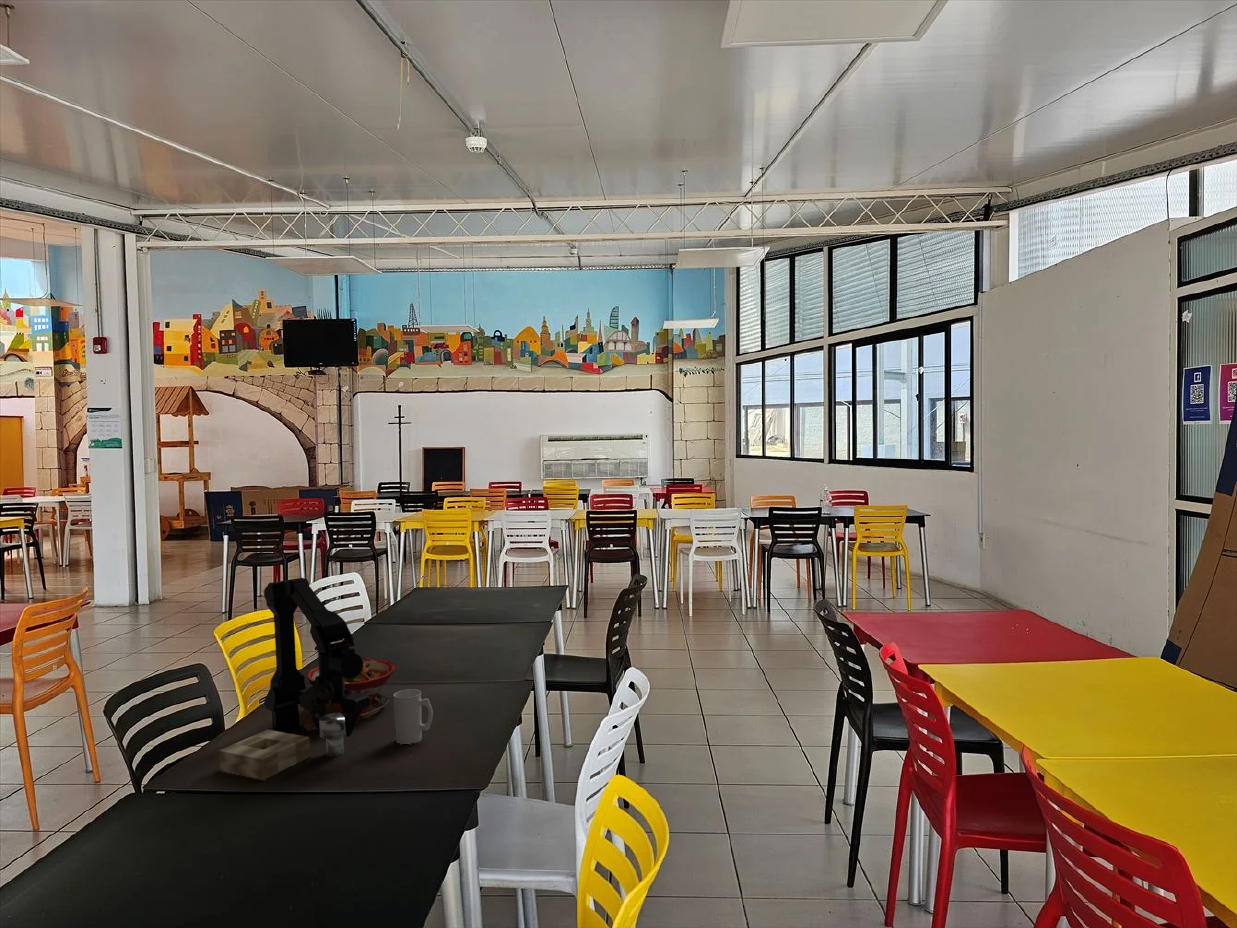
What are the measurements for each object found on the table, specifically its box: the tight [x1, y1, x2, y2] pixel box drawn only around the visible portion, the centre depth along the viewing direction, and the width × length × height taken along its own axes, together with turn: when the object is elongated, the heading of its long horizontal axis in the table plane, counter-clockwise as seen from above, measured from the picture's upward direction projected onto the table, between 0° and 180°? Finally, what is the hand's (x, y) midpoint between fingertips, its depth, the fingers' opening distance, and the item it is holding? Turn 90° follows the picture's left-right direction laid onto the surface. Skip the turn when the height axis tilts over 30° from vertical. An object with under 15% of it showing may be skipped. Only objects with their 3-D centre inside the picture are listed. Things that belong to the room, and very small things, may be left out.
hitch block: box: [218, 729, 311, 780], centre depth 194 cm, size 14×14×5 cm
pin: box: [319, 713, 346, 757], centre depth 200 cm, size 7×7×9 cm
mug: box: [393, 688, 434, 745], centre depth 207 cm, size 10×7×12 cm, turn 78°
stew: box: [299, 657, 396, 731], centre depth 228 cm, size 28×24×16 cm
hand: (334, 733), depth 200 cm, fingers open, 9 cm apart
